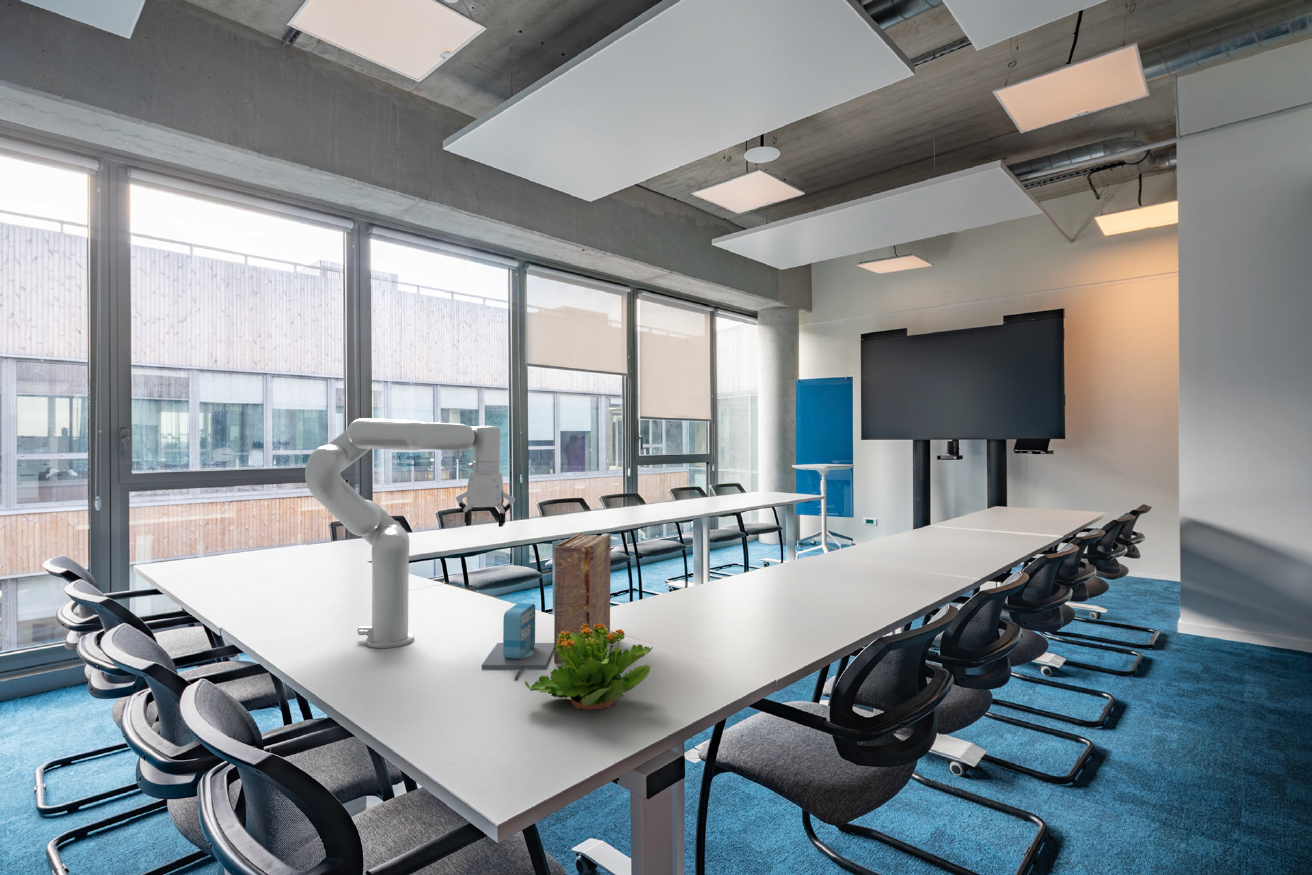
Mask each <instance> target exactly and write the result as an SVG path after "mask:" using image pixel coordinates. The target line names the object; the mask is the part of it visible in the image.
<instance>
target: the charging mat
mask: <svg viewBox="0 0 1312 875" xmlns="http://www.w3.org/2000/svg"><path fill="white" fill-rule="evenodd" d="M553 655H554V642H535V645H534V647H533V649H531V650H530V651H529V652H528V653H527V654H526V655H525V656H524V657H523V658H522V659H510V658H504V656H503V642H496V644H495V646H494V647H493V648H492V650H491V651H490V652H489V654H488V656H487V657H486V658H485V660H484V661H483V663H482V664H481V670H518V671H517V673H516V674H515V675H514V678H513V679H514V680H515V681H517V680H518V679H519V677H520V675H521V673H522V672H523V670H547V668H548V665H549V664H550V660H551V659H552V656H553Z"/></svg>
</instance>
